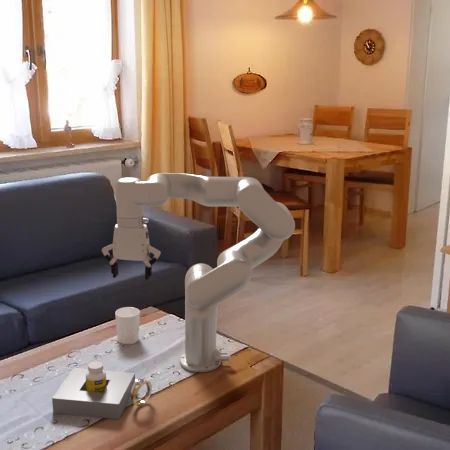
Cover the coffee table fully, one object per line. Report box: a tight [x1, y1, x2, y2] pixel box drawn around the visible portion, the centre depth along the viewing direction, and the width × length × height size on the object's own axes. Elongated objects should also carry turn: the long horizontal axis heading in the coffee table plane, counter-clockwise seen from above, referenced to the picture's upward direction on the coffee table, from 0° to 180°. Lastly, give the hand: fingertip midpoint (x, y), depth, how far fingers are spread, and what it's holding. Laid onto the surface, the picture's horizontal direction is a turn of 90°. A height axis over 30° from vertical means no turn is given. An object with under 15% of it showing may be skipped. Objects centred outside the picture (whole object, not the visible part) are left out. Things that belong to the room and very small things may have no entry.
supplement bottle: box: [86, 361, 106, 393], centre depth 172 cm, size 5×5×10 cm
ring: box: [130, 377, 153, 407], centre depth 171 cm, size 7×3×8 cm, turn 137°
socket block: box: [51, 367, 136, 420], centre depth 173 cm, size 18×16×4 cm
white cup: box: [115, 306, 141, 345], centre depth 207 cm, size 8×8×10 cm
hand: (131, 277), depth 185 cm, fingers open, 9 cm apart
